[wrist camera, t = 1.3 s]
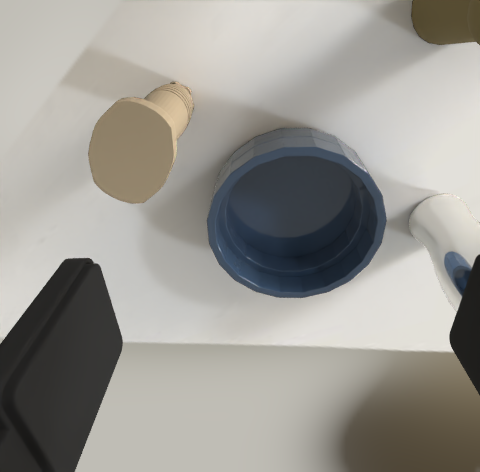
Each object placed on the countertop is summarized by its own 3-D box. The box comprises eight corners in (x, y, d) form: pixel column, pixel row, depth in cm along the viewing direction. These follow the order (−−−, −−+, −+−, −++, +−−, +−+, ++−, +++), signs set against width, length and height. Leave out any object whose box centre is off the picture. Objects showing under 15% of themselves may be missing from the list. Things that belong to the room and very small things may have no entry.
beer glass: (393, 238, 42) (451, 341, 29) (421, 183, 38) (501, 274, 25) (451, 249, 42) (533, 356, 30) (484, 196, 39) (594, 292, 26)
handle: (214, 78, 34) (187, 125, 21) (189, 140, 37) (152, 214, 24) (164, 52, 33) (104, 86, 20) (143, 119, 36) (79, 183, 23)
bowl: (208, 127, 36) (200, 148, 31) (382, 124, 35) (402, 145, 30) (218, 263, 45) (213, 297, 40) (357, 264, 44) (369, 298, 39)
